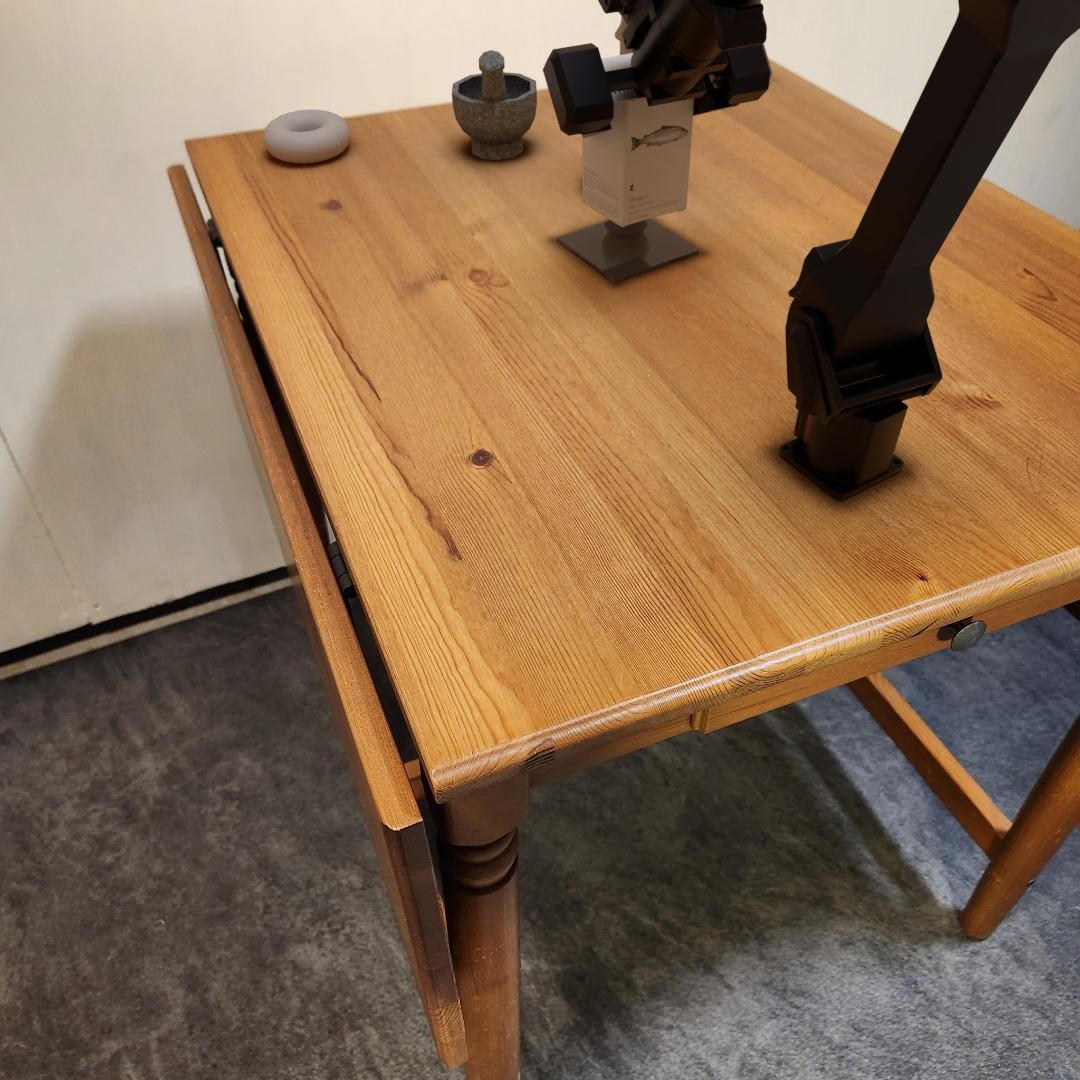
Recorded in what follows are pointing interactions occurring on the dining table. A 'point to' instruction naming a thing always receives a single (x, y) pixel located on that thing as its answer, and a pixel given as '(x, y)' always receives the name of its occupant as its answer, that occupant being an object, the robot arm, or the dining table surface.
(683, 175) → the white packaging box
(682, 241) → the slate coaster
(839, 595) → the dining table surface
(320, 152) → the donut
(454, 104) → the mortar and pestle
